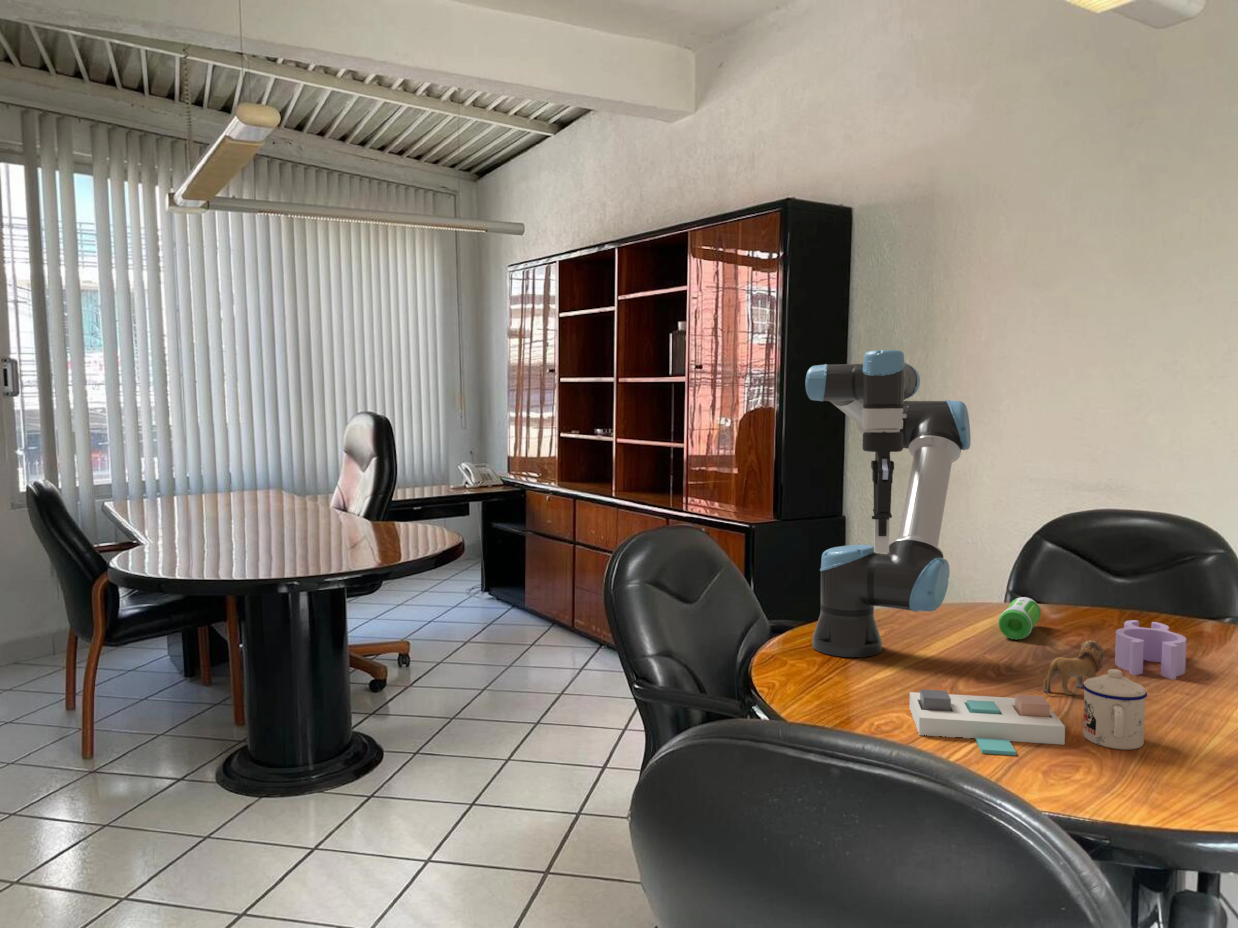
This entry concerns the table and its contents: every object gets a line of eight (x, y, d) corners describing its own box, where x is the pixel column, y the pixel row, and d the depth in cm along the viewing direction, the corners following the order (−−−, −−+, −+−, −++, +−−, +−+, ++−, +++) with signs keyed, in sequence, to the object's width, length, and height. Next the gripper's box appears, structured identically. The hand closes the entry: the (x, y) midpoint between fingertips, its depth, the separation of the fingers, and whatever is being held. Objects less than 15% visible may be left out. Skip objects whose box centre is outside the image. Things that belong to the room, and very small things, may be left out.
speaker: (1009, 623, 217) (1010, 593, 217) (1041, 627, 213) (1042, 597, 213) (996, 639, 202) (997, 607, 202) (1030, 644, 198) (1031, 611, 198)
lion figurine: (1084, 680, 172) (1085, 636, 171) (1110, 688, 167) (1111, 642, 167) (1034, 692, 165) (1036, 646, 165) (1060, 700, 160) (1061, 653, 160)
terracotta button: (1014, 712, 150) (1015, 694, 149) (1042, 714, 149) (1042, 695, 148) (1021, 721, 145) (1021, 703, 145) (1049, 723, 144) (1049, 704, 144)
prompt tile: (975, 740, 142) (975, 737, 142) (1008, 743, 141) (1008, 739, 141) (982, 753, 137) (982, 749, 137) (1016, 755, 136) (1016, 751, 136)
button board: (909, 708, 157) (909, 691, 157) (1042, 715, 153) (1042, 699, 153) (919, 734, 145) (919, 717, 144) (1064, 744, 140) (1065, 726, 140)
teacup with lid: (1079, 726, 148) (1080, 659, 147) (1140, 734, 144) (1143, 665, 143) (1085, 752, 137) (1087, 680, 136) (1152, 761, 133) (1155, 687, 132)
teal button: (966, 717, 151) (966, 699, 151) (993, 719, 150) (993, 701, 150) (971, 726, 147) (971, 708, 147) (999, 728, 146) (999, 710, 146)
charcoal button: (919, 706, 153) (920, 689, 153) (946, 708, 152) (946, 690, 152) (923, 715, 148) (923, 697, 148) (950, 717, 148) (950, 699, 147)
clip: (1111, 648, 194) (1112, 618, 194) (1177, 655, 189) (1178, 624, 188) (1117, 673, 176) (1118, 640, 176) (1189, 682, 171) (1191, 647, 170)
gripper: (907, 432, 160) (905, 558, 161) (899, 429, 172) (897, 547, 174) (865, 432, 161) (863, 557, 163) (860, 429, 174) (859, 546, 176)
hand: (881, 551), depth 169 cm, fingers closed
